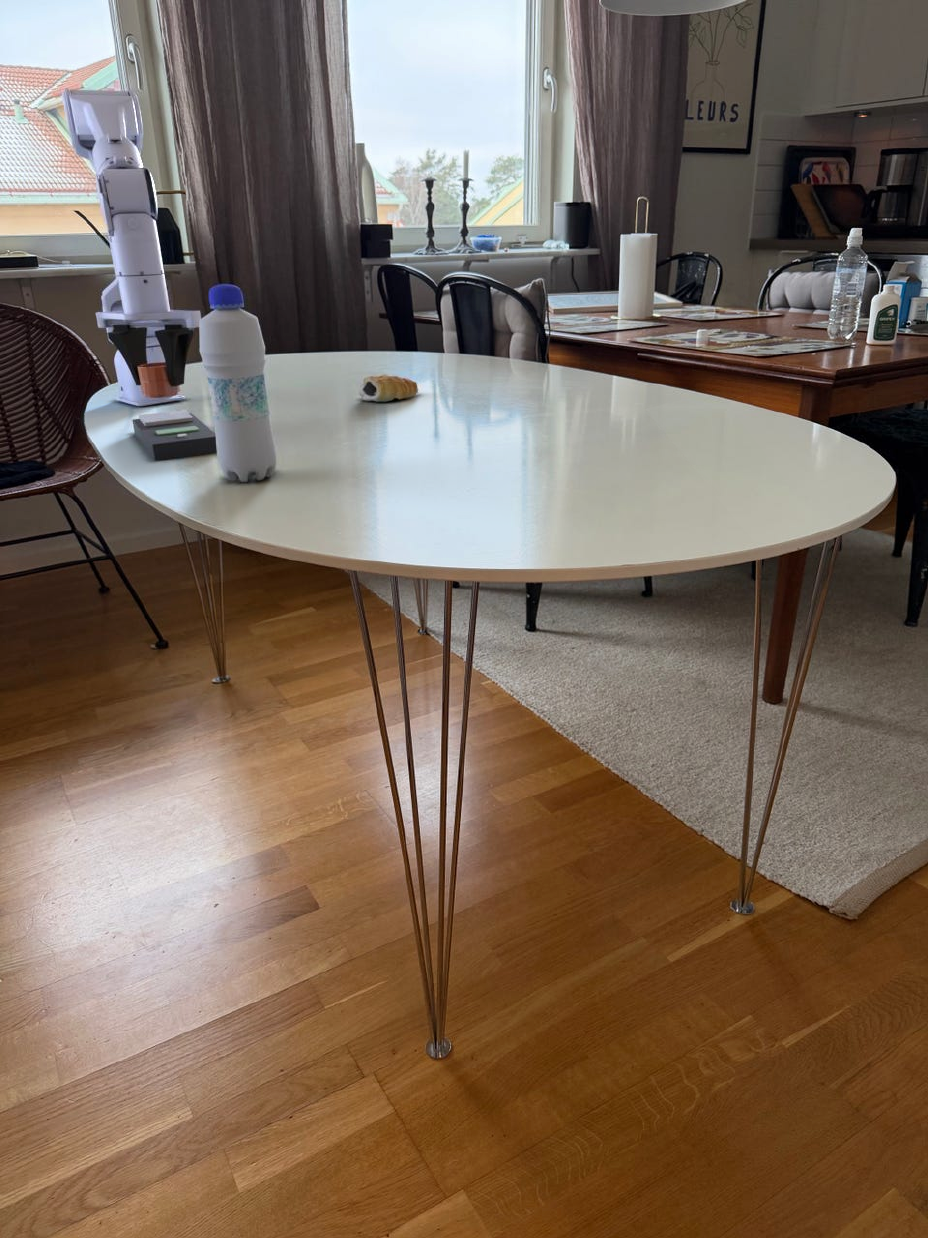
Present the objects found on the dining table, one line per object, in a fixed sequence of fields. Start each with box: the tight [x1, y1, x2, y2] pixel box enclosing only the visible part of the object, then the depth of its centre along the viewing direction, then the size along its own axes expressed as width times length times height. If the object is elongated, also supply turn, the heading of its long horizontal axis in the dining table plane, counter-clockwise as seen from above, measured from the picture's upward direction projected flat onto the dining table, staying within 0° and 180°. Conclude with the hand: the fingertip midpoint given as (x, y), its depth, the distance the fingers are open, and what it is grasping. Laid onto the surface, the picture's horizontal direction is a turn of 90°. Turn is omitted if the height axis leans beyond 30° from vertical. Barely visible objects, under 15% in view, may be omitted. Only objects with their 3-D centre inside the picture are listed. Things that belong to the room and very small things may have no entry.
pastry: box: [359, 374, 419, 403], centre depth 136 cm, size 9×7×4 cm
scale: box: [131, 409, 217, 462], centre depth 112 cm, size 18×8×2 cm, turn 27°
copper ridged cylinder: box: [138, 362, 181, 398], centre depth 114 cm, size 5×5×4 cm
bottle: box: [198, 283, 277, 483], centre depth 91 cm, size 7×7×20 cm
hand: (159, 384), depth 114 cm, fingers closed on copper ridged cylinder, 5 cm apart
